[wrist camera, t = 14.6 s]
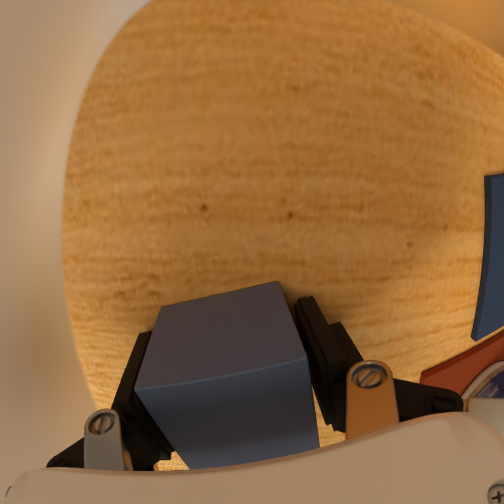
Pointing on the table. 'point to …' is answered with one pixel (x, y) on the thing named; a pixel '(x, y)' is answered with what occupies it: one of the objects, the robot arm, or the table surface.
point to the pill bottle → (488, 383)
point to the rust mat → (465, 366)
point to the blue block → (229, 379)
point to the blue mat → (492, 262)
